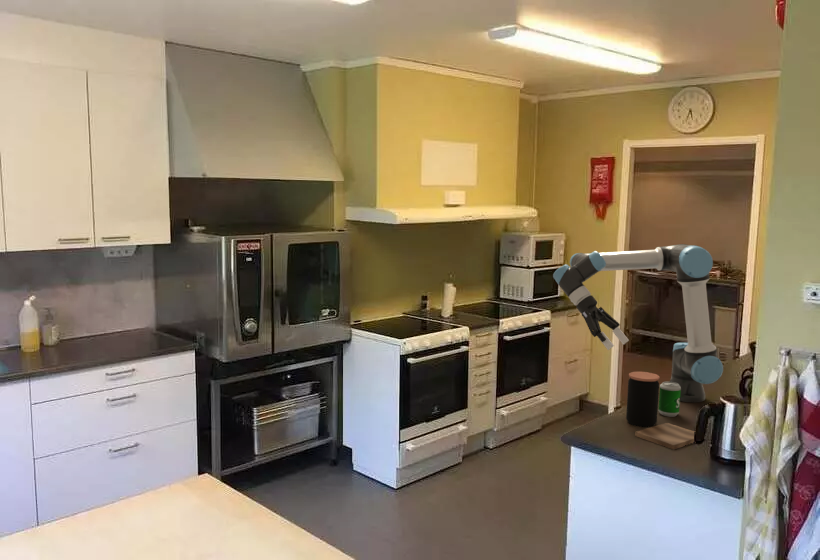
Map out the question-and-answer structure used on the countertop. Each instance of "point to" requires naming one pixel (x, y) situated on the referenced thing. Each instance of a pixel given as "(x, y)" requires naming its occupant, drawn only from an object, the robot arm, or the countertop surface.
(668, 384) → the soda can
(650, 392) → the coffee jar
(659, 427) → the walnut board
